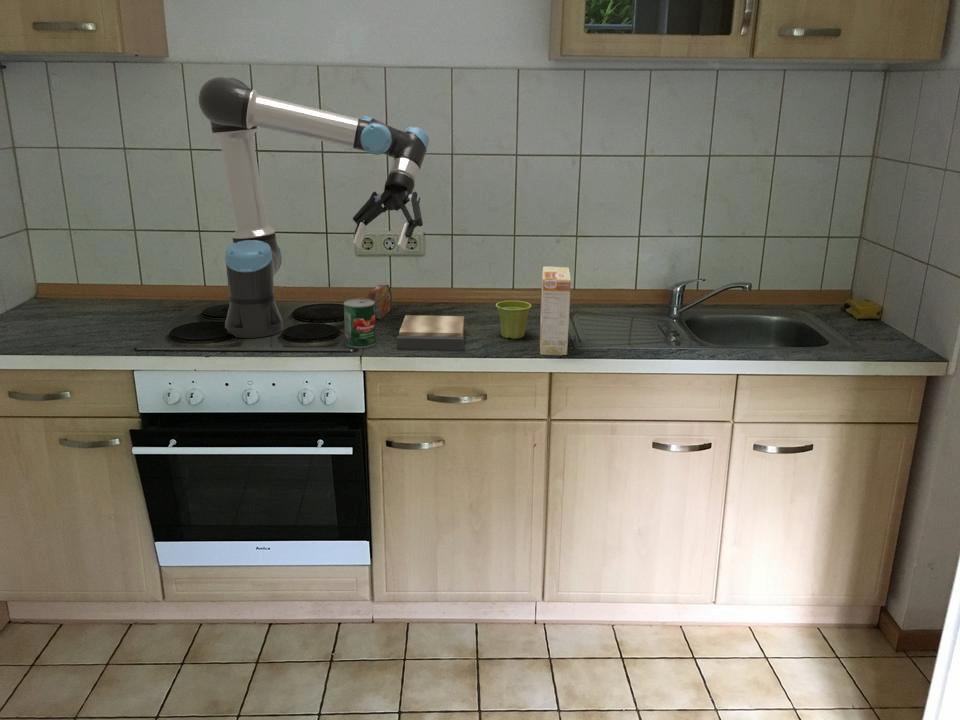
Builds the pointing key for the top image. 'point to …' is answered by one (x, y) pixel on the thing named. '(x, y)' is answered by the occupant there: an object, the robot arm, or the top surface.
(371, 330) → the canned tomato
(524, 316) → the plant pot
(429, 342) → the block
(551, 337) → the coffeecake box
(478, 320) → the top surface
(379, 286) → the orange brown packet
